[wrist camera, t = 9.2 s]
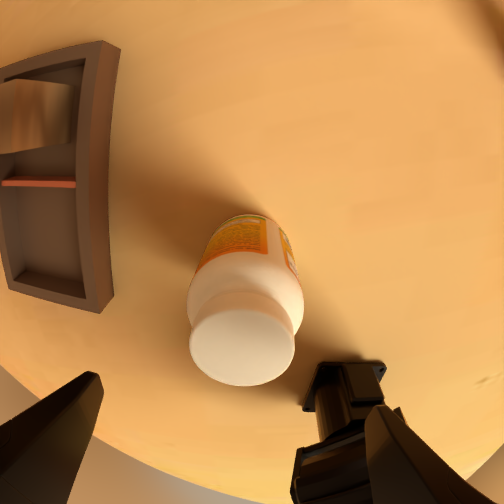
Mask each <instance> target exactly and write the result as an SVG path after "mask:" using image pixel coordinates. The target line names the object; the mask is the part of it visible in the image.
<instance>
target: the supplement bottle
mask: <svg viewBox="0 0 504 504" xmlns="http://www.w3.org/2000/svg"><path fill="white" fill-rule="evenodd" d="M303 313H304V299H303V292H302V288H301V285H300V281H299V277H298V272H297V268H296V265H295V261H294V257H293V253H292V249H291V246H290V243H289V240H288V238H287V236H286V234H285V233H284V231H283V230H282V229H281V228H280V227H279V226H278V225H277V224H276V223H275V222H273V221H272V220H270V219H268V218H266V217H263V216H259V215H251V214H246V215H239V216H235V217H233V218H230V219H228V220H227V221H225V222H224V223H222V224H221V225H220V226H219V227H218V228H217V229H216V230H215V232H214V233H213V235H212V237H211V238H210V240H209V243H208V245H207V247H206V250H205V252H204V254H203V256H202V259H201V261H200V263H199V265H198V268H197V270H196V272H195V275H194V277H193V279H192V282H191V284H190V287H189V291H188V295H187V315H188V318H189V321H190V324H191V326H192V330H191V334H190V338H189V349H190V354H191V356H192V359H193V361H194V362H195V364H196V365H197V366H198V367H199V369H201V370H202V371H203V372H204V373H205V374H206V375H208V376H209V377H211V378H213V379H215V380H217V381H219V382H222V383H225V384H229V385H235V386H254V385H260V384H263V383H266V382H269V381H271V380H273V379H275V378H276V377H278V376H280V375H281V374H282V373H283V372H284V371H285V370H286V369H287V368H288V366H289V365H290V363H291V361H292V359H293V356H294V351H295V343H294V335H295V334H296V332H297V331H298V329H299V327H300V324H301V322H302V318H303Z"/></svg>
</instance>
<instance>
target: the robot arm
mask: <svg viewBox="0 0 504 504" xmlns="http://www.w3.org/2000/svg"><path fill="white" fill-rule="evenodd" d="M324 367H325V368H324ZM386 369H387V367H386V365H385V364H384V363H334V362H322V363H320V364H318V366H317V368H316V371H315V374H314V376H313V379H312V382H311V384H310V387H309V390H308V392H307V395H306V397H305V400H304V402H303V405H302V410H303V411H304V412H316V418H317V425H318V431H319V438H320V442H319V443H316V444H313V445H310V446H307V447H301V448H298V449H297V452H296V458H295V463H294V469H293V475H292V481H291V487H290V494H291V498H292V501H293V503H294V504H497V503H495V502H493V501H492V500H490V499H489V498H487V497H486V496H485V495H483V494H482V493H481V492H479V491H478V490H477V489H475V488H474V487H473V486H471V485H470V484H469V483H468V482H466V481H465V480H464V479H463V478H462V477H461V476H459V475H458V474H457V473H456V472H455V471H454V470H453V469H452V468H451V467H449V465H448V464H447V463H446V462H445V461H443V460H442V459H441V458H440V457H439V456H438V455H437V454H436V453H435V452H434V451H433V450H432V449H431V448H430V447H429V446H428V445H427V444H426V443H425V442H424V441H423V440H422V439H421V438H420V437H419V436H418V435H417V434H416V433H415V432H414V431H413V430H412V429H411V428H410V427H409V426H408V424H407V422H406V420H405V417H404V415H403V413H402V411H401V409H400V407H398V408H396V409H394V410H393V411H392V410H391V409H390V408H389V407H388V406H387V405H386V404H385V401H384V399H385V398H384V395H383V392H382V389H381V387H380V384H379V383H380V381H381V379H382V377H383V375H384V373H385V372H386ZM103 395H104V389H103V386H102V383H101V379H100V376H99V375H98V374H97V373H94V372H91V371H86V372H84V373H83V374H81V375H80V376H78V377H76V378H75V379H73V380H72V381H70V382H69V383H67V384H66V385H64V386H62V387H61V388H59V389H58V390H56V391H55V392H53V393H51V394H50V395H48V396H47V397H45V398H44V399H42V400H40V401H39V402H37V403H36V404H34V405H33V406H31V407H30V408H28V409H26V410H25V411H23V412H22V413H20V414H19V415H17V416H15V417H14V418H12V420H9V421H7V422H6V423H4V424H2V425H1V426H0V504H67V501H68V498H69V495H70V492H71V489H72V486H73V483H74V481H75V478H76V475H77V472H78V470H79V467H80V464H81V462H82V459H83V456H84V454H85V451H86V449H87V446H88V444H89V441H90V439H91V436H92V434H93V431H94V427H95V424H96V420H97V416H98V413H99V409H100V406H101V402H102V399H103Z"/></svg>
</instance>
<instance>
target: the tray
mask: <svg viewBox="0 0 504 504" xmlns="http://www.w3.org/2000/svg"><path fill="white" fill-rule="evenodd" d="M120 52H121V49H119V48H117V47H115V46H113V45H111V44H109V43H107V42H105V41H103V40H102V41H96V42H91V43H85V44H81V45H76V46H71V47H67V48H63V49H59V50H55V51H51V52H48V53H44V54H41V55H37V56H34V57H31V58H28V59H25V60H22V61H19V62H16V63H13V64H10V65H8V66H5V67H2V68H0V84H2V83H5V82H8V81H11V80H14V79H25V80H35V81H44V82H52V83H59V84H66V85H72V86H75V92H74V101H73V112H72V125H71V143H65V144H58V145H51V146H45V147H39V148H33V149H28V150H23V151H18V152H13V153H6V154H0V252H1V258H2V262H3V267H4V272H5V276H6V280H7V284H8V288H9V289H10V290H13V291H17V292H20V293H23V294H26V295H30V296H33V297H36V298H40V299H43V300H47V301H51V302H54V303H58V304H62V305H66V306H69V307H73V308H77V309H81V310H85V311H90V312H94V313H98V314H100V313H101V312H102V311H103V309H104V308H105V307H106V305H107V304H108V303H109V302H110V300H111V299H112V298H113V297H114V291H113V281H112V271H111V259H110V244H109V222H108V166H109V144H110V129H111V118H112V107H113V99H114V90H115V83H116V76H117V69H118V63H119V57H120Z"/></svg>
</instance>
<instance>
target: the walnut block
mask: <svg viewBox="0 0 504 504" xmlns="http://www.w3.org/2000/svg"><path fill="white" fill-rule="evenodd" d="M74 92H75V86H72V85H66V84H59V83H52V82H44V81H35V80H25V79H14V80H11V81H8V82H5V83H2V84H0V154H6V153H13V152H18V151H23V150H28V149H33V148H39V147H45V146H51V145H58V144H65V143H71V125H72V112H73V101H74Z"/></svg>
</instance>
